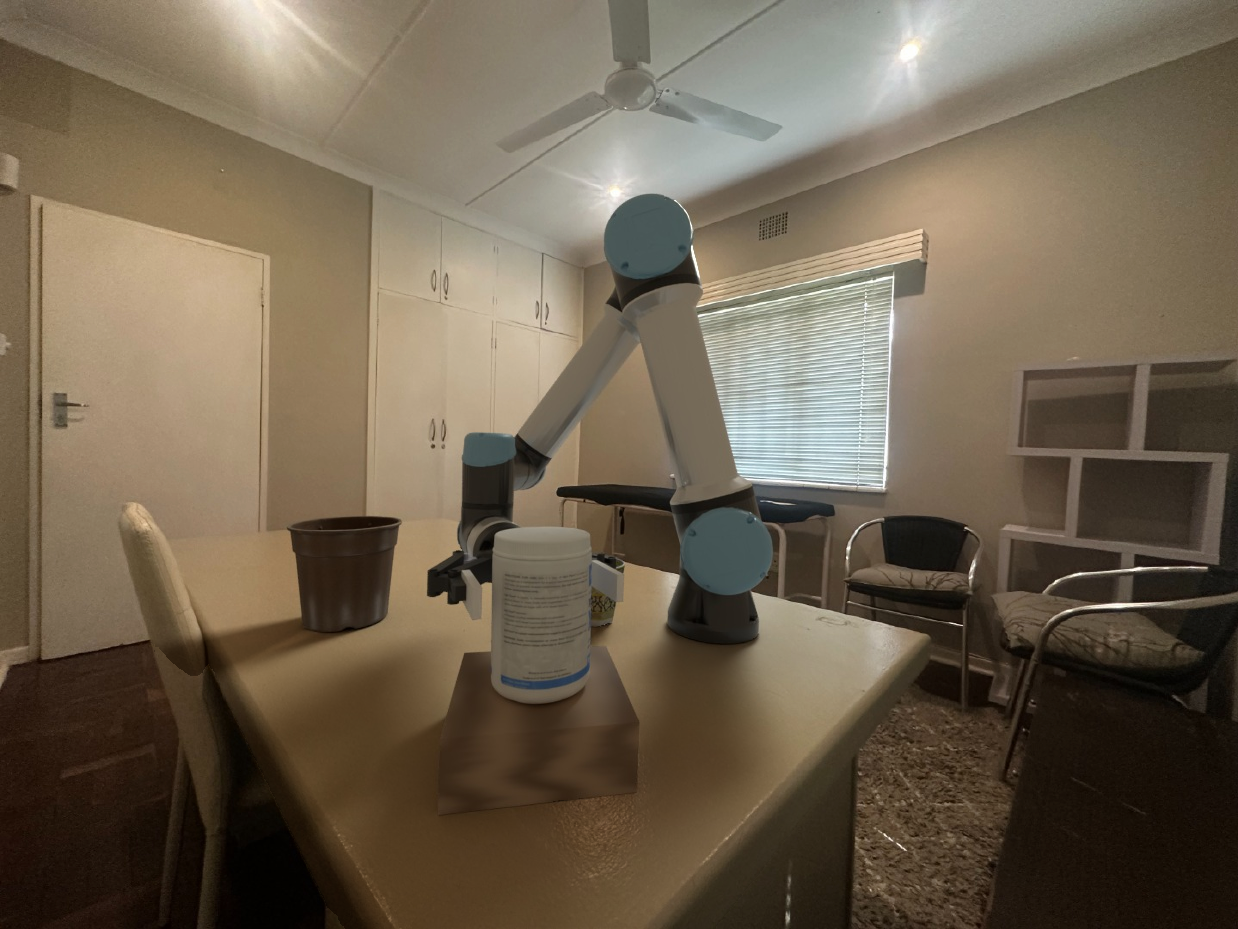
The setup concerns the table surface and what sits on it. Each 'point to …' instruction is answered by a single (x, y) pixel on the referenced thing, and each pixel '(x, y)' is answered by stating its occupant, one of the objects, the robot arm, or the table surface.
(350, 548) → the plant pot
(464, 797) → the block
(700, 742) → the table surface
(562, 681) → the supplement tub
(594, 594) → the ceramic cup
